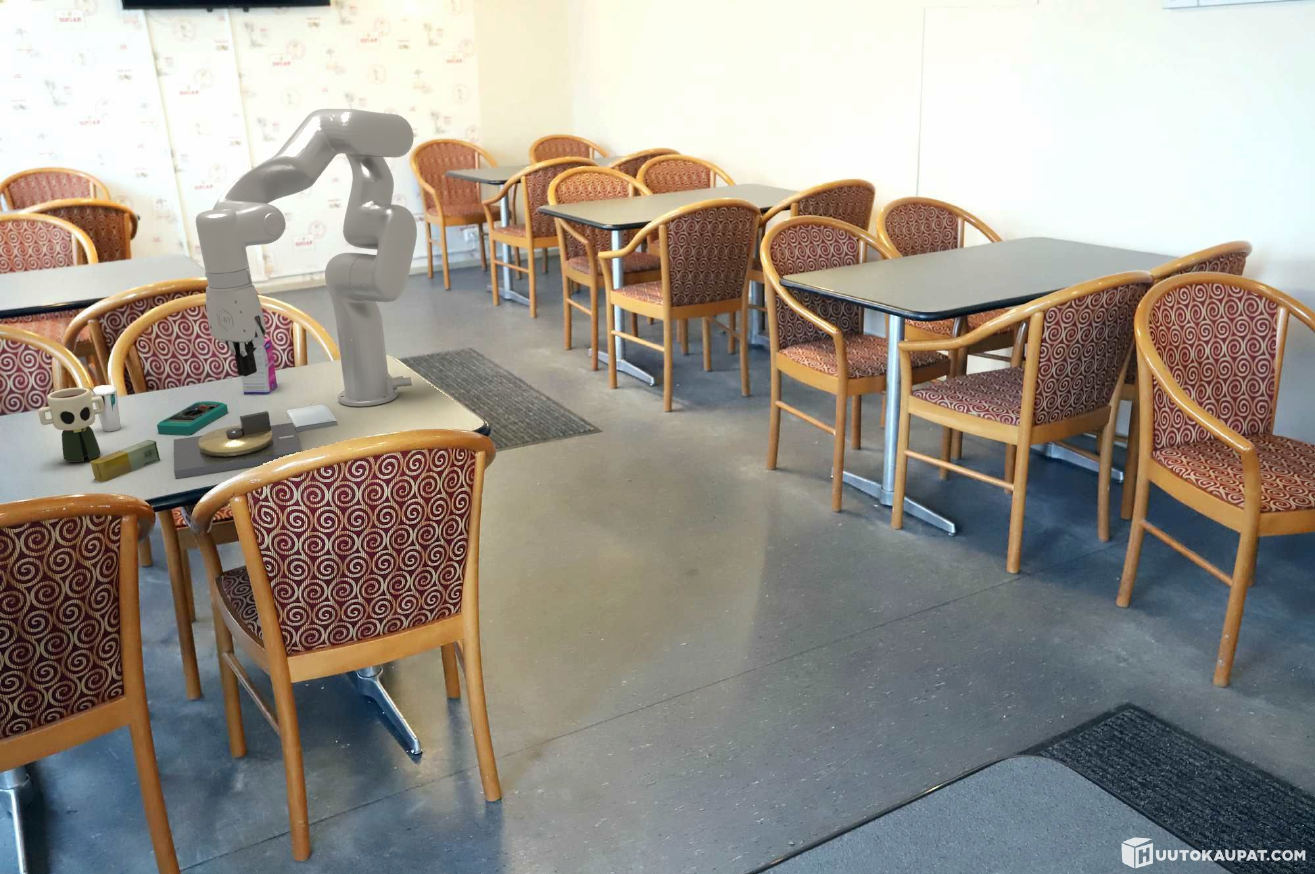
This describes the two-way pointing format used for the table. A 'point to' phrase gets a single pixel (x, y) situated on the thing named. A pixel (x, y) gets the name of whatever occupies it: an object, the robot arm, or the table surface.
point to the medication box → (125, 460)
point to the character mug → (74, 421)
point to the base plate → (198, 463)
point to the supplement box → (261, 372)
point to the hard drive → (311, 418)
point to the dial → (239, 437)
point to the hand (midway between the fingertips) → (247, 373)
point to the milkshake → (108, 407)
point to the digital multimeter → (192, 418)
